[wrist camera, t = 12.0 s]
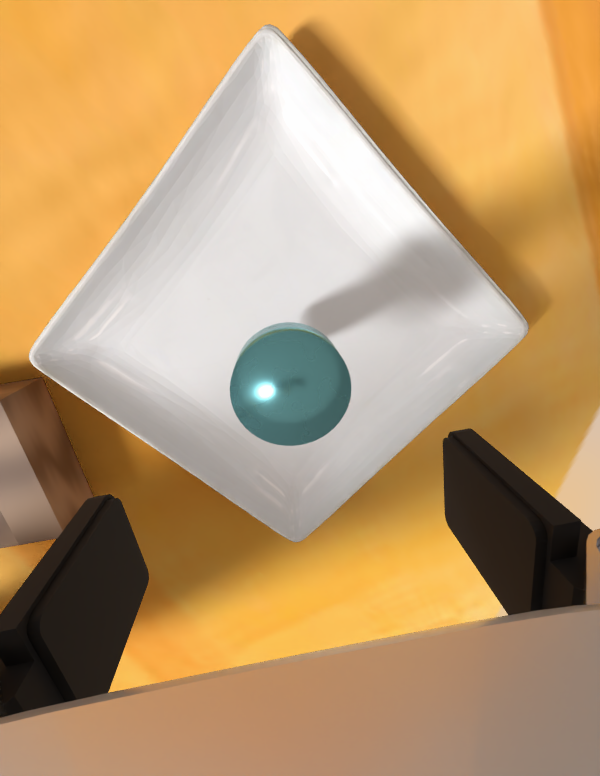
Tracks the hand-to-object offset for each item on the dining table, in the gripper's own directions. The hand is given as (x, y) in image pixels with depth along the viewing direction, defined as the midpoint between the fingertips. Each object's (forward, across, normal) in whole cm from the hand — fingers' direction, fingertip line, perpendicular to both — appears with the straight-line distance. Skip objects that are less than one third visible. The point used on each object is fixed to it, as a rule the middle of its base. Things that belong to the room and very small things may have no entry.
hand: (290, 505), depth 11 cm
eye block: (+22, +25, +5) cm, 34 cm away
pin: (+18, -1, 0) cm, 18 cm away
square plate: (+22, -1, -1) cm, 22 cm away
